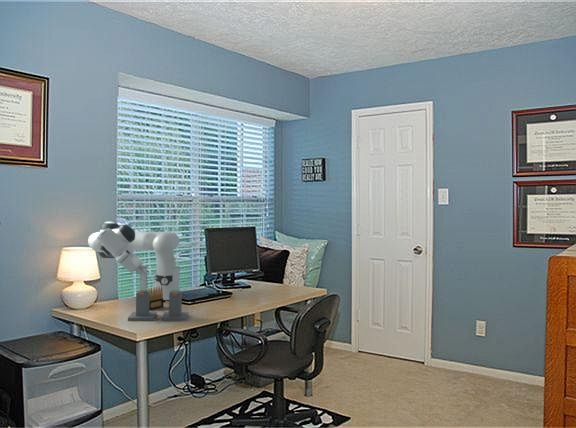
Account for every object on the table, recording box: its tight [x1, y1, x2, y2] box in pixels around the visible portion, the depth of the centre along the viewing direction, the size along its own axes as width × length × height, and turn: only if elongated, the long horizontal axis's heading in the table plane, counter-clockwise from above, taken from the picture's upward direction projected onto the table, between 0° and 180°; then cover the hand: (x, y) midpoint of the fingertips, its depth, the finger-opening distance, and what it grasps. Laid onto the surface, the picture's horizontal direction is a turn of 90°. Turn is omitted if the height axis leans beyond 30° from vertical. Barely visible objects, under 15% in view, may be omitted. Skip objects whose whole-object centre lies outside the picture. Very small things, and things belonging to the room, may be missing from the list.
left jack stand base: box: [127, 290, 158, 322], centre depth 252 cm, size 12×12×13 cm
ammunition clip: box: [147, 286, 164, 311], centre depth 272 cm, size 11×2×12 cm, turn 146°
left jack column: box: [138, 265, 148, 293], centre depth 251 cm, size 3×3×17 cm
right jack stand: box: [160, 265, 189, 322], centre depth 253 cm, size 12×12×26 cm
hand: (144, 274), depth 251 cm, fingers closed on left jack column, 3 cm apart
